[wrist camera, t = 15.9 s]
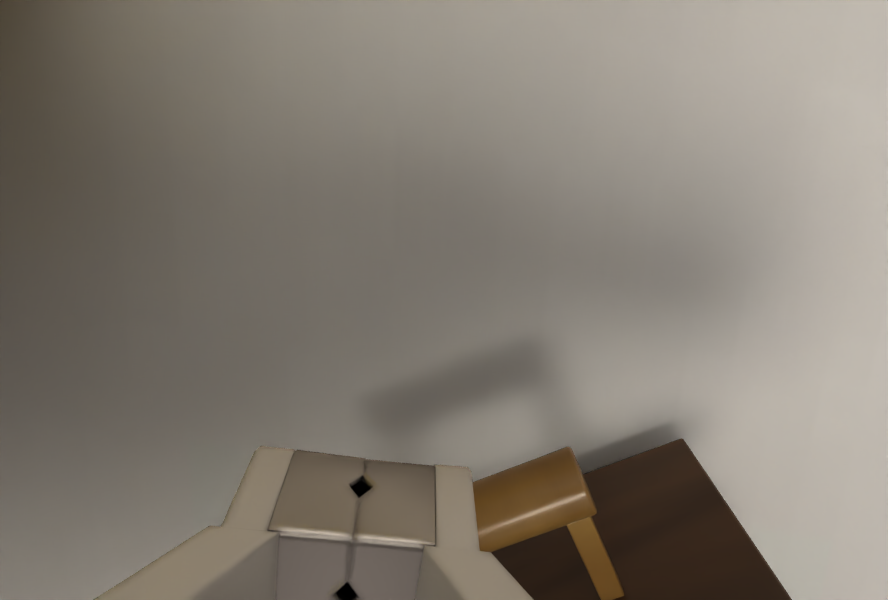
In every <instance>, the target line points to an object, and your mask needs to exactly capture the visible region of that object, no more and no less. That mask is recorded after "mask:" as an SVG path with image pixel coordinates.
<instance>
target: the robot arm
mask: <svg viewBox="0 0 888 600" xmlns="http://www.w3.org/2000/svg"><path fill="white" fill-rule="evenodd" d="M94 600H533V599H532V597H531V596H530V595H529V594H528V593H527V592H526V591H525V590H524V589H523V588H522V586H521V585H520V584H519V583H518V582H517V581H516V580H515V579H514V578H513V576H512V575H511V574H510V573H509V572H508V571H507V570H506V569H505V568H504V567H503V565H502V564H501V563H500V562H499V561H498V560H497V559H496V558H495V557H494V555H493V554H492V553H491V552H484V551H480V548H479V539H478V530H477V520H476V511H475V502H474V492H473V483H472V474H471V470H470V469H469V468H468V467H461V466H447V465H434V466H432V465H422V464H411V463H401V462H391V461H381V460H371V459H366V458H359V457H351V456H343V455H335V454H327V453H319V452H311V451H303V450H296V451H295V450H293V449H285V448H276V447H267V446H260V447H259V448H258V449H257V450H256V451H255V452H254V454H253V456H252V458H251V460H250V463H249V465H248V467H247V469H246V472H245V474H244V476H243V478H242V481H241V483H240V485H239V487H238V489H237V492H236V494H235V496H234V498H233V501H232V503H231V505H230V507H229V509H228V512H227V514H226V516H225V518H224V521H223V523H222V525H221V527H219V526H208V527H206V528H205V529H203V530H202V531H200V532H199V533H197V534H196V535H194V536H192V537H191V538H189V539H188V540H186V541H185V542H183V543H181V544H180V545H178V546H177V547H175V548H174V549H172V550H171V551H169V552H167V553H166V554H164V555H163V556H161V557H160V558H158V559H156V560H155V561H153V562H152V563H150V564H149V565H147V566H146V567H144V568H142V569H141V570H139V571H138V572H136V573H135V574H133V575H131V576H130V577H128V578H127V579H125V580H124V581H122V582H121V583H119V584H117V585H116V586H114V587H113V588H111V589H110V590H108V591H106V592H105V593H103V594H102V595H100V596H99V597H97V598H96V599H94Z"/></svg>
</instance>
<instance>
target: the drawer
mask: <svg viewBox="0 0 888 600" xmlns="http://www.w3.org/2000/svg"><path fill="white" fill-rule="evenodd" d="M472 483H473V492H474V502H475V511H476V520H477V530H478V539H479V548H480V551H484V552H491V553H492V554H493V555H494V557H495V558H496V559H497V560H498V561H499V562H500V563H501V564H502V565H503V567H504V568H505V569H506V570H507V571H508V572H509V573H510V574H511V575H512V576H513V578H514V579H515V580H516V581H517V582H518V583H519V584H520V585H521V586H522V588H523V589H524V590H525V591H526V592H527V593H528V594H529V595H530V596H531V597H532V599H533V600H792V599H791V598H790V596H789V595H788V593H787V592H786V590H785V589H784V587H783V586H782V584H781V583H780V581H779V580H778V578H777V577H776V575H775V574H774V572H773V571H772V570H771V568H770V567H769V565H768V564H767V562H766V561H765V559H764V558H763V556H762V555H761V553H760V552H759V550H758V549H757V547H756V546H755V544H754V543H753V541H752V540H751V538H750V537H749V535H748V534H747V533H746V531H745V530H744V528H743V527H742V525H741V524H740V522H739V521H738V519H737V518H736V516H735V515H734V513H733V512H732V510H731V509H730V507H729V506H728V504H727V503H726V501H725V500H724V499H723V497H722V496H721V494H720V493H719V491H718V490H717V488H716V487H715V485H714V484H713V482H712V481H711V479H710V478H709V476H708V475H707V473H706V472H705V470H704V469H703V467H702V466H701V464H700V463H699V462H698V460H697V459H696V457H695V456H694V454H693V453H692V451H691V450H690V448H689V447H688V445H687V444H686V442H685V441H684V440H683V439H678V440H676V441H673V442H670V443H667V444H665V445H662V446H659V447H657V448H654V449H651V450H648V451H646V452H643V453H640V454H638V455H635V456H632V457H629V458H627V459H624V460H621V461H618V462H616V463H613V464H610V465H608V466H605V467H602V468H599V469H597V470H594V471H591V472H589V473H586V474H583V473H582V471H581V469H580V466H579V464H578V461H577V459H576V457H575V455H574V452H573V450H572V449H571V448H570V447H565V448H563V449H560V450H557V451H555V452H552V453H549V454H547V455H544V456H541V457H539V458H536V459H533V460H531V461H528V462H525V463H523V464H520V465H517V466H515V467H512V468H509V469H507V470H504V471H501V472H499V473H496V474H493V475H491V476H488V477H485V478H483V479H480V480H477V481H475V482H472Z"/></svg>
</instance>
